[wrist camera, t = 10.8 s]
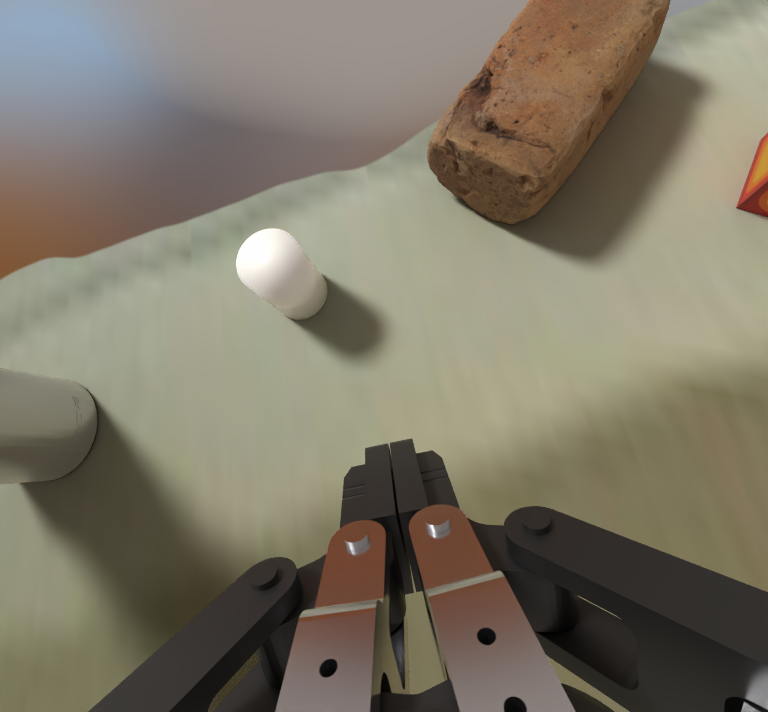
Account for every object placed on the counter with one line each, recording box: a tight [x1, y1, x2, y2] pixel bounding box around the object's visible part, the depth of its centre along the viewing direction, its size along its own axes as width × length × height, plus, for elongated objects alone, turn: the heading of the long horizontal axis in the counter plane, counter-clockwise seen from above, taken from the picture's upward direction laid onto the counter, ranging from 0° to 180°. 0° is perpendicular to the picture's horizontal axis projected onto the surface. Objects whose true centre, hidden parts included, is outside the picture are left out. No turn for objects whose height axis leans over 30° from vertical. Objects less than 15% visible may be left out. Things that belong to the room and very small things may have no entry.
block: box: [427, 0, 670, 224], centre depth 34 cm, size 11×8×20 cm
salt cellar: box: [236, 229, 328, 320], centre depth 35 cm, size 5×5×7 cm
